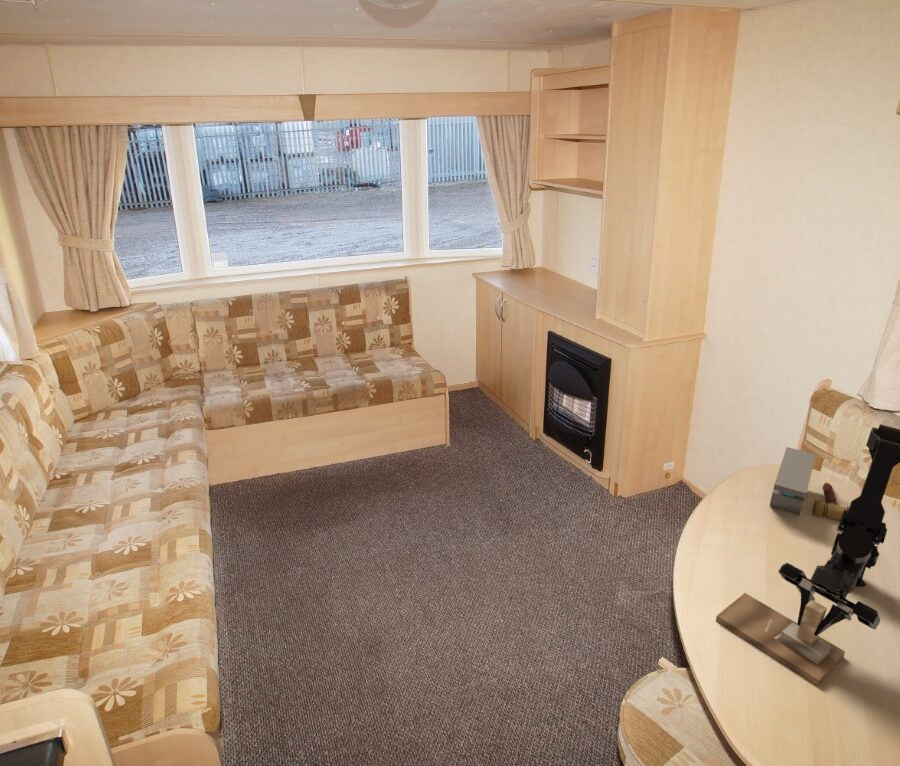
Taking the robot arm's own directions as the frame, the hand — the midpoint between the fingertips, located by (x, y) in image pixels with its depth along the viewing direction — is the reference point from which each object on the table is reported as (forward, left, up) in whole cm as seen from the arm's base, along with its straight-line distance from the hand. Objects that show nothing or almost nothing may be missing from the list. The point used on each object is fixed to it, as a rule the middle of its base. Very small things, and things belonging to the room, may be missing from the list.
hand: (806, 630), depth 132 cm
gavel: (-41, -55, -8) cm, 69 cm away
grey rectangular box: (-29, -56, -7) cm, 64 cm away
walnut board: (+2, -5, -7) cm, 9 cm away
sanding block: (-1, -1, -5) cm, 6 cm away
